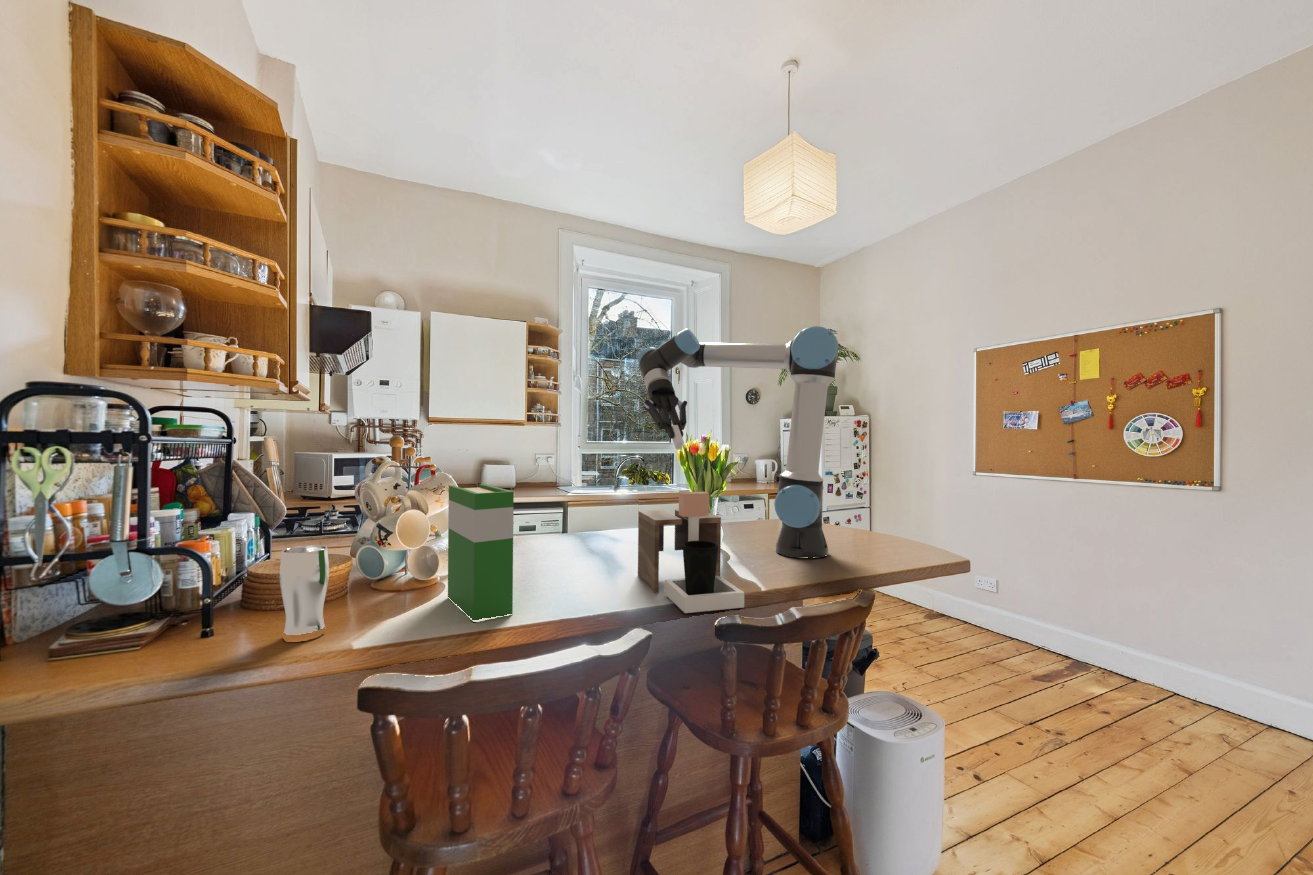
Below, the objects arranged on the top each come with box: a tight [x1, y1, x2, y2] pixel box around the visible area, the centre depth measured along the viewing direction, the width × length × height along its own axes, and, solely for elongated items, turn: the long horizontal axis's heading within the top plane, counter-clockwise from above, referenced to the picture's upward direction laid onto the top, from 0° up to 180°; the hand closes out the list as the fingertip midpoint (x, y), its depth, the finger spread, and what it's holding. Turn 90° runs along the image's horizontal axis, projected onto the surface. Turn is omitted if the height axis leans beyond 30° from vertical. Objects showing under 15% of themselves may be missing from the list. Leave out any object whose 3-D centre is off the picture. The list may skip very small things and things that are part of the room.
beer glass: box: [279, 544, 330, 635], centre depth 88 cm, size 7×7×15 cm
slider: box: [664, 491, 745, 614], centre depth 108 cm, size 13×14×22 cm
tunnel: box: [637, 509, 722, 594], centre depth 123 cm, size 16×14×16 cm
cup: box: [682, 541, 718, 595], centre depth 109 cm, size 8×8×12 cm
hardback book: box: [447, 483, 515, 620], centre depth 103 cm, size 18×7×24 cm, turn 37°
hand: (679, 445), depth 134 cm, fingers closed
